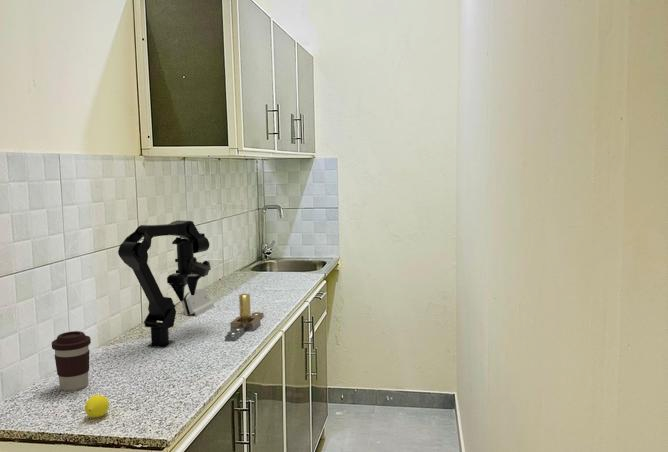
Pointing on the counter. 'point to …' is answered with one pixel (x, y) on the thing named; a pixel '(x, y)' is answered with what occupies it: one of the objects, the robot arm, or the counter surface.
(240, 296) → the brass pin
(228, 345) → the counter surface
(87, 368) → the coffee cup
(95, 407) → the lemon
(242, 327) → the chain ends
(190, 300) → the light grey block
